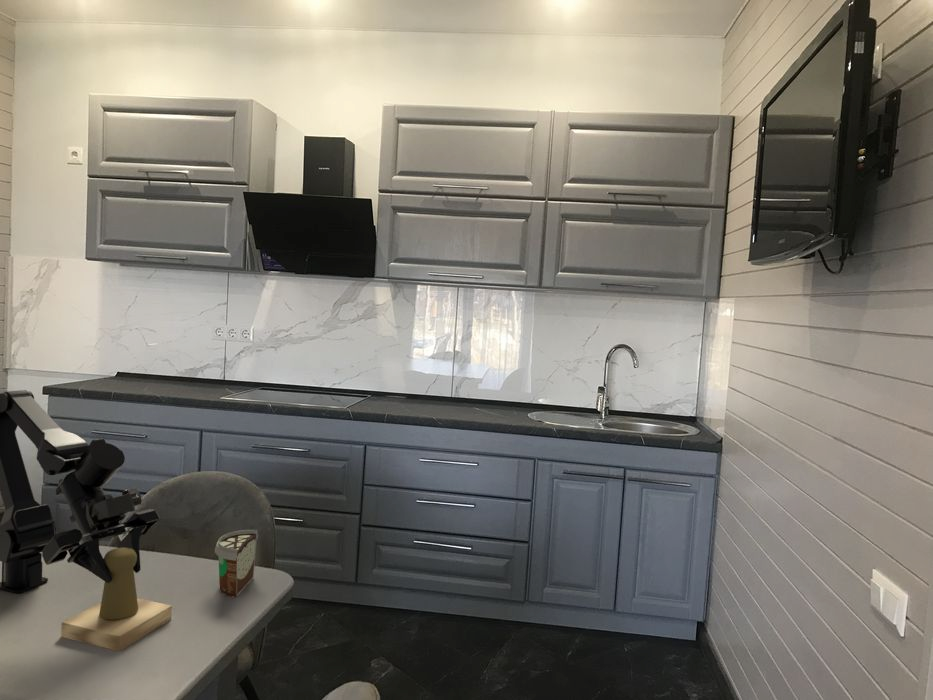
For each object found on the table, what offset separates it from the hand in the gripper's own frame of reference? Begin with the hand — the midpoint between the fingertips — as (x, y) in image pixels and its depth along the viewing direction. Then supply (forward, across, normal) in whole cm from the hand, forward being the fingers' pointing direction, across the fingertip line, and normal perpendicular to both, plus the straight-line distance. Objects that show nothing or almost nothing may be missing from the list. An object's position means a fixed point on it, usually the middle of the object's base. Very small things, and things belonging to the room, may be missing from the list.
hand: (124, 576), depth 113 cm
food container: (+8, +23, +6) cm, 25 cm away
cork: (+4, 0, +6) cm, 7 cm away
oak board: (+6, 0, +8) cm, 10 cm away
